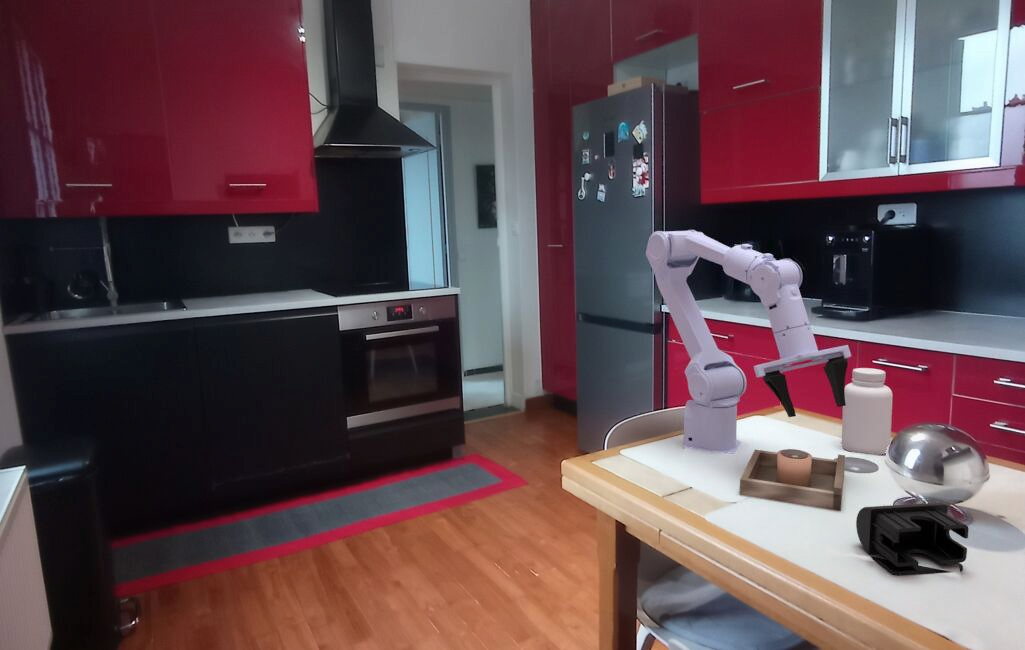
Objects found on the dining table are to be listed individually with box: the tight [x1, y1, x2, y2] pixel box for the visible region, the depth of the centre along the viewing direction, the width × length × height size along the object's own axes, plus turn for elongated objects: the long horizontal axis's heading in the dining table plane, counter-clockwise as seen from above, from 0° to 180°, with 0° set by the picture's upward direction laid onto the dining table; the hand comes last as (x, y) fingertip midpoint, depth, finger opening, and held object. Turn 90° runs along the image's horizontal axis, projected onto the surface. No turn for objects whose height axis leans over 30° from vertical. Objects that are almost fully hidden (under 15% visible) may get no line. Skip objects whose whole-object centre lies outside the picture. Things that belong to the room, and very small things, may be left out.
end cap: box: [855, 502, 969, 577], centre depth 79 cm, size 10×7×7 cm
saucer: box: [832, 456, 879, 474], centre depth 109 cm, size 7×7×1 cm
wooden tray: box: [739, 449, 846, 512], centre depth 101 cm, size 14×15×4 cm
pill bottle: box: [841, 367, 893, 456], centre depth 117 cm, size 8×8×15 cm
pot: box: [777, 448, 813, 488], centre depth 101 cm, size 5×5×5 cm
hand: (816, 411), depth 101 cm, fingers open, 7 cm apart
